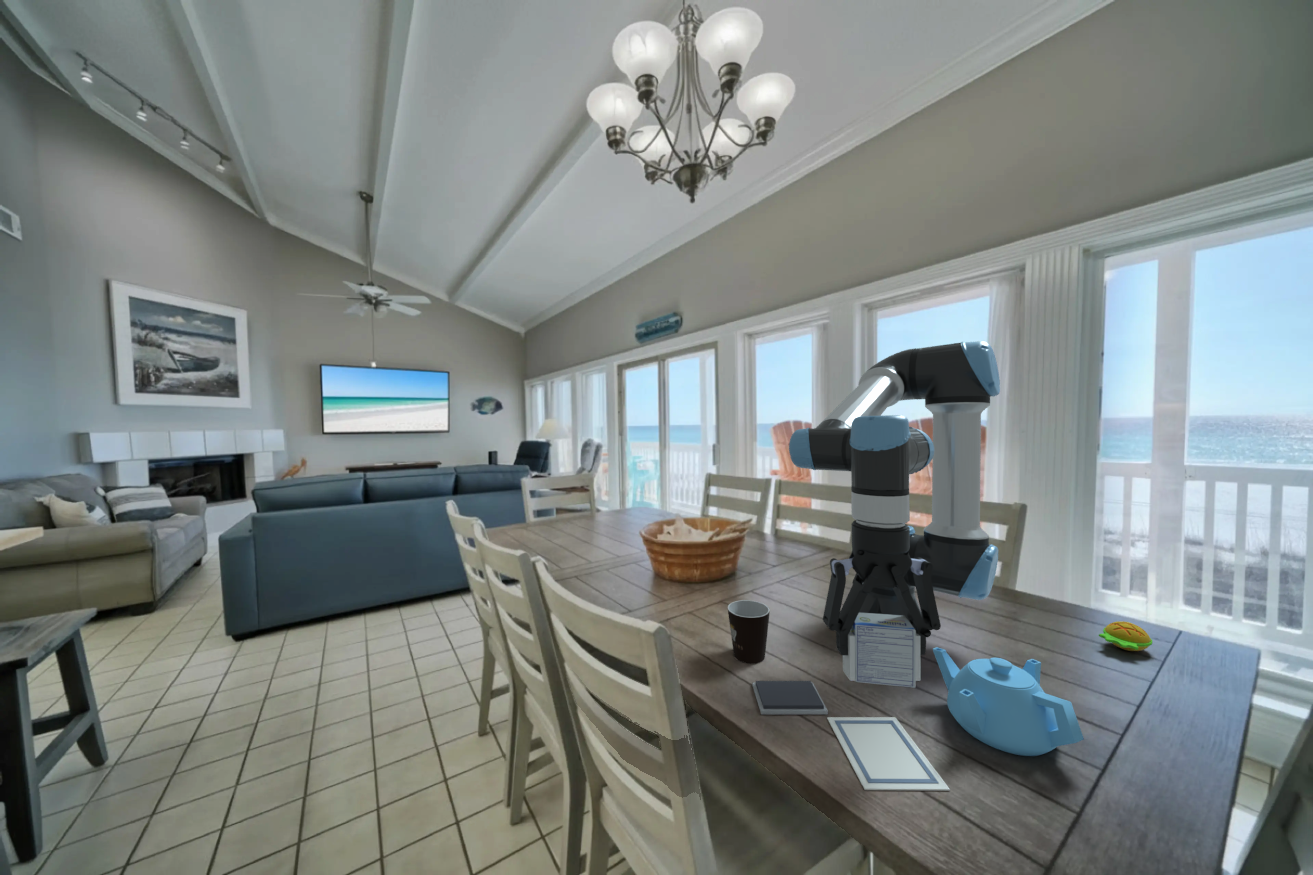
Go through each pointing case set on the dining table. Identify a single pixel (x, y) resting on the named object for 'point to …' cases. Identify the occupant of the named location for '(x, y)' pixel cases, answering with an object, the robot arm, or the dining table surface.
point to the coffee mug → (749, 630)
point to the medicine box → (884, 650)
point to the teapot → (1007, 705)
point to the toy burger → (1126, 636)
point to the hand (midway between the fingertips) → (880, 675)
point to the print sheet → (885, 754)
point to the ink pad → (788, 697)
